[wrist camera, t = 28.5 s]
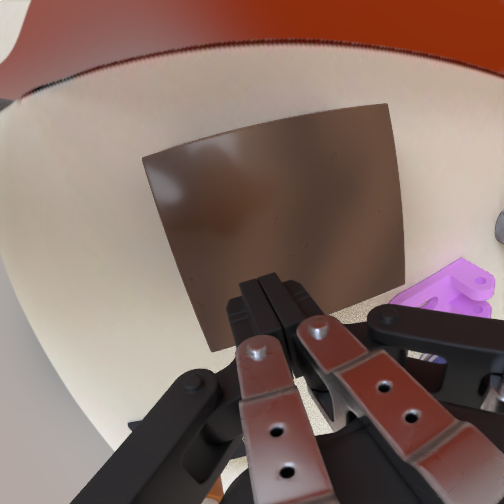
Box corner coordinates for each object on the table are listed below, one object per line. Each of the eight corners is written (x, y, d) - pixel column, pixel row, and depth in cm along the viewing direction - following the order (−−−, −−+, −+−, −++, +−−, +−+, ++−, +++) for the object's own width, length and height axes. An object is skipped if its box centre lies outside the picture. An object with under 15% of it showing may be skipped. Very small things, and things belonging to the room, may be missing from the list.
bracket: (461, 257, 32) (501, 280, 26) (460, 293, 34) (495, 318, 28) (379, 304, 31) (416, 339, 25) (384, 340, 34) (415, 376, 27)
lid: (210, 345, 20) (211, 353, 20) (143, 157, 15) (141, 158, 15) (399, 279, 22) (405, 284, 21) (380, 103, 17) (387, 103, 16)
